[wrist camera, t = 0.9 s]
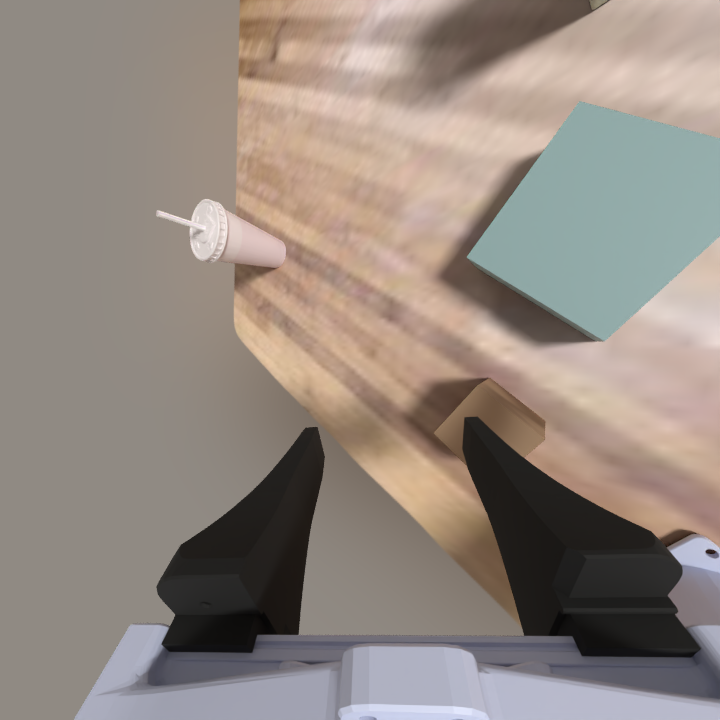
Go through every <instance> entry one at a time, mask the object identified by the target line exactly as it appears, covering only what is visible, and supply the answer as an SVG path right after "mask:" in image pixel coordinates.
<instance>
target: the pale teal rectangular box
mask: <svg viewBox="0 0 720 720" xmlns="http://www.w3.org/2000/svg"><path fill="white" fill-rule="evenodd" d="M719 236H720V138H716V137H712V136H709V135H705V134H701V133H697V132H693V131H690V130H686V129H682V128H678V127H675V126H671V125H667V124H663V123H660V122H656V121H652V120H648V119H645V118H641V117H637V116H633V115H630V114H626V113H622V112H618V111H615V110H611V109H607V108H603V107H600V106H596V105H592V104H588V103H585V102H581V101H579V103H578V104H577V106H576V107H575V108H574V110H573V111H572V112H571V114H570V115H569V117H568V118H567V119H566V121H565V122H564V123H563V125H562V126H561V128H560V129H559V130H558V132H557V133H556V135H555V136H554V137H553V139H552V140H551V141H550V143H549V144H548V146H547V147H546V148H545V150H544V151H543V152H542V154H541V155H540V157H539V158H538V159H537V161H536V162H535V163H534V165H533V166H532V168H531V169H530V170H529V172H528V173H527V175H526V176H525V177H524V179H523V180H522V181H521V183H520V184H519V186H518V187H517V188H516V190H515V191H514V192H513V194H512V195H511V197H510V198H509V199H508V201H507V202H506V203H505V205H504V206H503V208H502V209H501V210H500V212H499V213H498V214H497V216H496V217H495V219H494V220H493V221H492V223H491V224H490V226H489V227H488V228H487V230H486V231H485V232H484V234H483V235H482V237H481V238H480V239H479V241H478V242H477V243H476V245H475V246H474V248H473V249H472V250H471V252H470V253H469V254H468V256H467V258H468V259H469V260H470V261H471V262H472V263H473V264H474V266H475V267H476V268H478V269H479V270H481V271H482V272H484V273H486V274H487V275H489V276H491V277H492V278H494V279H495V280H497V281H499V282H500V283H502V284H504V285H505V286H507V287H508V288H510V289H512V290H513V291H515V292H516V293H518V294H520V295H521V296H523V297H525V298H526V299H528V300H529V301H531V302H533V303H534V304H536V305H538V306H539V307H541V308H542V309H544V310H546V311H547V312H549V313H551V314H552V315H554V316H555V317H557V318H559V319H560V320H562V321H564V322H565V323H567V324H568V325H570V326H572V327H573V328H575V329H576V330H578V331H580V332H581V333H583V334H585V335H586V336H588V337H589V338H591V339H593V340H594V341H605V340H607V339H608V338H609V337H610V336H611V335H612V334H613V333H614V332H615V331H616V330H618V329H619V328H620V327H621V326H622V325H623V324H624V323H625V322H626V321H627V320H629V319H630V318H631V317H632V316H633V315H634V314H635V313H636V312H637V311H638V310H639V309H641V308H642V307H643V306H644V305H645V304H646V303H647V302H648V301H649V300H650V299H652V298H653V297H654V296H655V295H656V294H657V293H658V292H659V291H660V290H661V289H662V288H664V287H665V286H666V285H667V284H668V283H669V282H670V281H671V280H672V279H673V278H675V277H676V276H677V275H678V274H679V273H680V272H681V271H682V270H683V269H684V268H685V267H687V266H688V265H689V264H690V263H691V262H692V261H693V260H694V259H695V258H696V257H698V256H699V255H700V254H701V253H702V252H703V251H704V250H705V249H706V248H707V247H708V246H710V245H711V244H712V243H713V242H714V241H715V240H716V239H717V238H718V237H719Z"/></svg>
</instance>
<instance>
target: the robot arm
mask: <svg viewBox="0 0 720 720" xmlns="http://www.w3.org/2000/svg"><path fill="white" fill-rule="evenodd" d="M462 450H463V454H464V457H465V461H466V464H467V467H468V470H469V473H470V475H471V477H472V480H473V482H474V484H475V487H476V489H477V491H478V494H479V496H480V498H481V501H482V503H483V505H484V507H485V510H486V512H487V514H488V517H489V520H490V522H491V525H492V528H493V531H494V534H495V537H496V540H497V543H498V546H499V549H500V553H501V556H502V559H503V562H504V566H505V569H506V572H507V575H508V579H509V582H510V586H511V589H512V593H513V596H514V600H515V603H516V607H517V610H518V614H519V618H520V622H521V625H522V629H523V633H524V636H422V635H421V636H420V635H419V636H418V635H416V636H415V635H414V636H413V635H402V636H401V635H399V636H398V635H298V634H299V621H300V610H301V601H302V591H303V582H304V573H305V565H306V557H307V549H308V542H309V535H310V529H311V524H312V519H313V515H314V510H315V506H316V502H317V498H318V494H319V489H320V485H321V481H322V476H323V468H324V458H325V456H324V452H323V448H322V444H321V440H320V435H319V431H318V428H317V427H310V428H305V429H304V430H303V432H302V433H301V435H300V436H299V437H298V439H297V440H296V441H295V443H294V444H293V445H292V446H291V448H290V449H289V451H288V452H287V453H286V454H285V455H284V457H283V458H282V459H281V460H280V462H279V463H278V464H277V465H276V466H275V467H274V469H273V470H272V471H271V472H270V473H269V474H268V475H267V477H266V478H265V479H264V480H263V481H262V482H261V483H260V484H259V485H258V486H257V487H256V488H255V489H254V490H253V491H252V492H251V493H250V494H248V495H247V496H246V497H245V498H244V499H243V500H241V501H240V502H239V503H238V504H237V505H236V506H235V507H234V508H232V509H231V510H230V511H228V512H227V513H226V514H225V515H223V516H222V517H221V518H219V519H218V520H217V521H215V522H214V523H213V524H211V525H210V526H208V527H207V528H206V529H205V530H203V531H201V532H200V533H198V534H197V535H195V536H194V537H192V538H191V539H189V540H188V541H186V542H185V543H183V544H181V546H180V547H179V549H178V550H177V552H176V554H175V555H174V557H173V558H172V560H171V562H170V564H169V565H168V567H167V569H166V571H165V572H164V574H163V576H162V577H161V579H160V581H159V583H158V585H157V592H158V595H159V597H160V598H161V599H162V600H163V602H165V604H166V605H167V606H168V607H169V608H170V609H171V610H172V611H173V612H174V613H175V617H174V620H173V622H172V624H171V626H168V625H166V624H161V623H133V624H131V625H130V626H129V628H128V629H127V631H126V633H125V635H124V636H123V638H122V640H121V641H120V643H119V644H118V646H117V648H116V649H115V651H114V653H113V655H112V656H111V658H110V660H109V661H108V663H107V665H106V666H105V668H104V670H103V671H102V673H101V675H100V676H99V678H98V680H97V681H96V683H95V685H94V686H93V688H92V690H91V691H90V693H89V695H88V696H87V698H86V700H85V701H84V703H83V705H82V707H81V708H80V710H79V711H78V713H77V715H76V717H75V718H74V720H720V547H719V546H717V545H716V544H715V543H713V542H712V541H711V540H709V539H708V538H707V537H705V536H703V535H700V534H692V535H689V536H687V537H685V538H683V539H682V540H680V541H678V542H676V543H674V544H672V545H670V546H668V547H666V546H665V545H664V544H663V543H662V542H661V541H660V540H659V539H658V538H657V537H656V536H655V535H654V534H653V533H652V532H651V531H649V530H647V529H645V528H643V527H641V526H638V525H636V524H634V523H632V522H630V521H628V520H626V519H624V518H621V517H619V516H617V515H615V514H613V513H611V512H609V511H607V510H605V509H604V508H602V507H600V506H598V505H596V504H594V503H592V502H590V501H589V500H587V499H585V498H583V497H582V496H580V495H578V494H576V493H575V492H573V491H571V490H570V489H568V488H566V487H565V486H563V485H562V484H560V483H558V482H557V481H555V480H554V479H552V478H551V477H549V476H548V475H547V474H545V473H544V472H542V471H541V470H539V469H538V468H536V467H535V466H534V465H532V464H531V463H530V462H528V461H527V460H526V459H525V458H523V457H522V456H521V455H520V454H518V453H517V452H516V451H515V450H514V449H513V448H511V447H510V446H509V445H508V444H507V443H506V442H504V441H503V440H502V439H501V438H500V437H499V436H498V435H497V434H496V433H495V432H494V431H492V430H491V429H490V428H489V427H488V426H487V425H486V424H485V423H484V422H483V421H482V420H481V419H480V418H479V417H478V416H477V417H464V430H463V444H462ZM707 549H712V550H715V551H716V552H715V553H714V554H707V553H706V552H705V551H706V550H707Z"/></svg>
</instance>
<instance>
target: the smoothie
mask: <svg viewBox="0 0 720 720" xmlns="http://www.w3.org/2000/svg"><path fill="white" fill-rule="evenodd" d="M156 215H157V216H158V217H161V218H164V219H167V220H170V221H174V222H177V223H180V224H183V225H186V226H189V227H190V243H191V247H192V250H193V253H194V255H195V256H196V257H197V258H198V259H199V260H202V261H206V262H208V263H213V262H215V261H221V262H229V263H238V264H246V265H255V266H263V267H271V268H278V267H280V266H281V265H282V264H283V262H284V260H285V256H286V248H285V245H284V243H283V242H282V241H281V240H279V239H277V238H276V237H274V236H272V235H270V234H268V233H266V232H265V231H263V230H261V229H259V228H257V227H256V226H254V225H252V224H250V223H248V222H247V221H245V220H243V219H241V218H239V217H238V216H236V215H234V214H232V213H230V212H229V211H227V210H225V209H224V208H223V206H222V205H220V203H218V202H214V201H212V200H209V199H204V200H202V201H201V202H200V203H199V204H198V205H197V207H196V208H195V211H194V213H193V216H192V220H191V221H188V220H186V219H183V218H180V217H177V216H174V215H171V214H168V213H165V212H162V211H159V210H157V212H156Z"/></svg>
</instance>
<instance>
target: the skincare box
mask: <svg viewBox="0 0 720 720" xmlns="http://www.w3.org/2000/svg"><path fill="white" fill-rule="evenodd" d="M606 1H608V0H589V2H590V6H591V9H592V10H594V9H596V8H597V7H599V6H600V5H602V4H603V3H605V2H606Z"/></svg>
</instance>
